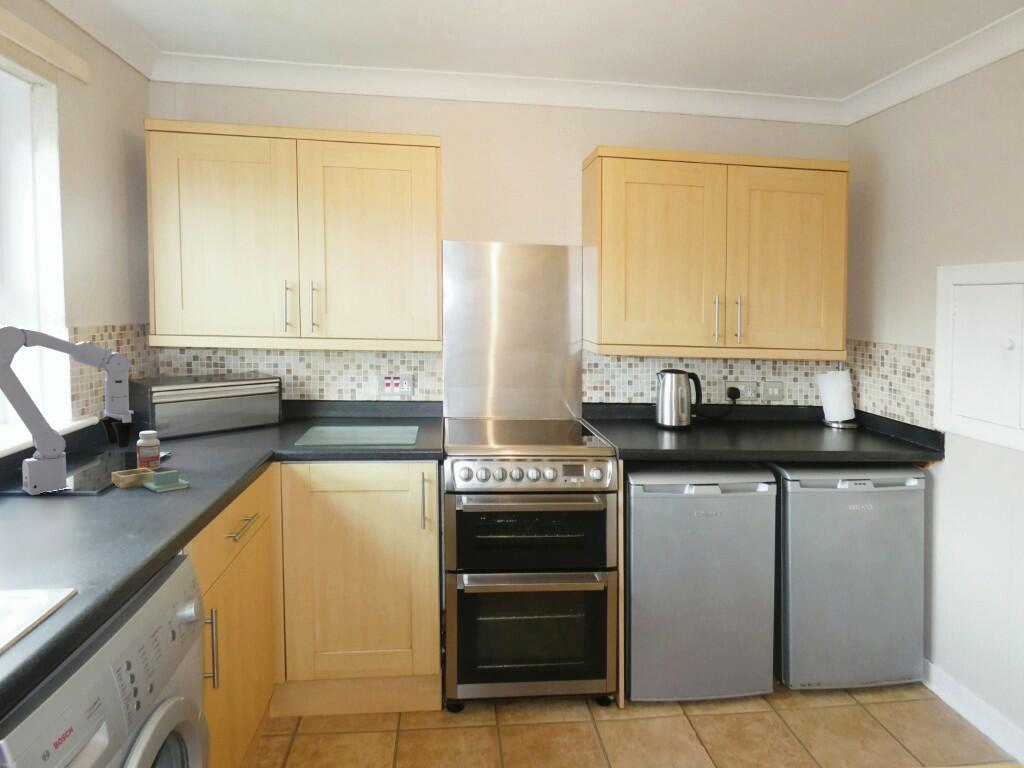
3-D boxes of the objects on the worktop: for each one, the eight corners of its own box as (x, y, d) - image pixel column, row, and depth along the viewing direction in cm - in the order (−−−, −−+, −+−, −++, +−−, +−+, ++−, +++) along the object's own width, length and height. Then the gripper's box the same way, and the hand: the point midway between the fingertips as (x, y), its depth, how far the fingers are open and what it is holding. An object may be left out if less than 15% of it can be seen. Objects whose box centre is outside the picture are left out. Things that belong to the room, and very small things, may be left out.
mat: (157, 492, 194) (157, 490, 194) (145, 486, 199) (145, 484, 199) (187, 487, 200) (187, 485, 200) (175, 481, 205) (175, 480, 205)
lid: (153, 490, 194) (153, 477, 193) (142, 485, 199) (142, 472, 198) (189, 485, 200) (189, 472, 200) (177, 480, 205) (177, 467, 205)
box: (121, 488, 196) (121, 477, 196) (111, 483, 201) (111, 472, 201) (156, 483, 203) (155, 472, 203) (146, 478, 208) (145, 467, 207)
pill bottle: (142, 466, 222) (141, 429, 221) (163, 466, 223) (162, 430, 222) (133, 470, 216) (132, 433, 215) (155, 471, 217) (154, 433, 216)
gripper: (142, 398, 199) (143, 447, 201) (122, 392, 209) (123, 439, 211) (114, 400, 194) (116, 450, 196) (95, 394, 204) (96, 442, 206)
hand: (118, 445), depth 203 cm, fingers open, 7 cm apart
